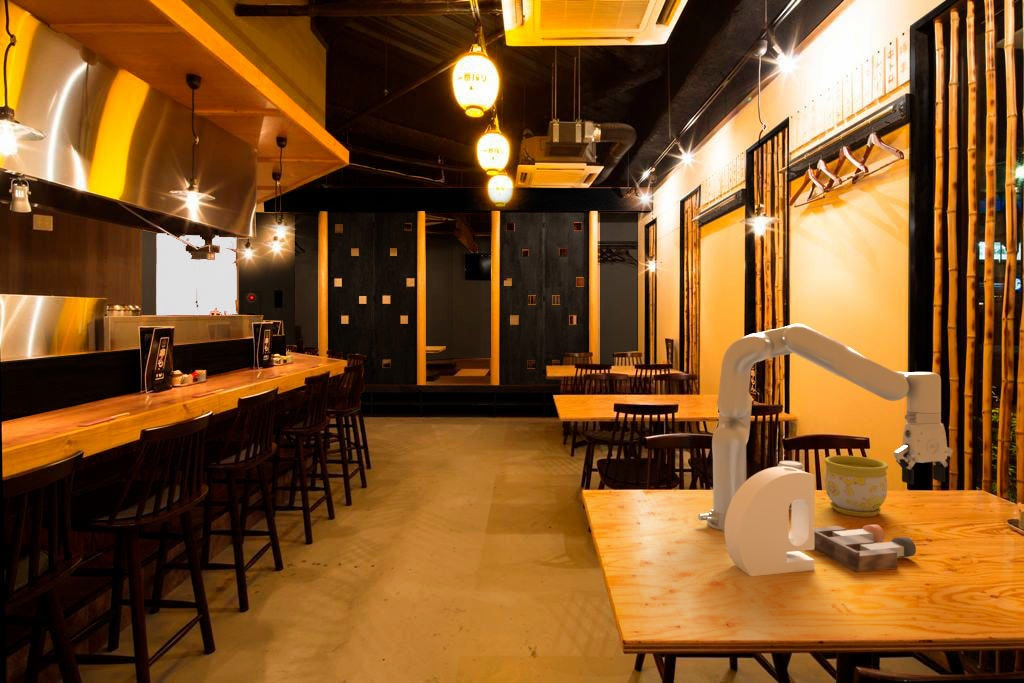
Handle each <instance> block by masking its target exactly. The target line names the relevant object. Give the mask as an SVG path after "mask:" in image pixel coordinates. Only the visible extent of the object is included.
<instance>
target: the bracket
mask: <svg viewBox="0 0 1024 683" xmlns="http://www.w3.org/2000/svg"><path fill="white" fill-rule="evenodd" d="M815 477H816V476H815V474H814V473H813V474H812V473H809V472H806V471H805V470H804V471H802V470H799V469H796V468H792V467H784V466H781V467H777V466H773V467H772V466H771V467H768V468H765V469H763V470H762V469H761V470H760V471H758V472H756V473H755V474H753V475H751V476H750V477H749V478H747V479H746V481H745V482H744V483H743V484H742V485H741V487H740V488H739V489H738V490H737V492H736V493H735V495H734V497H733V498H732V500H731V502H730V505H729V507H728V510H727V514H726V518H725V526H724V531H723V533H724V534H723V535H724V541H725V546H726V550H727V551H728V554H729V557H730V559H731V560H732V563H733V564H734V565H735V567H737V568H739V570H741V571H742V572H744V573H746V574H747V575H749V576H750V577H758V576H766V575H767V576H768V575H777V574H785V573H786V574H788V573H796V572H806V571H807V572H809V571H815V559H814V558H812V557H810V556H809V555H807V554H806V553H804V552H802V551H813V550H814V528H815V516H816V515H815V514H816V513H815V512H816V511H815V509H816V508H815V502H816V501H815V500H816V498H815V493H816V492H815V488H816V487H815V484H816V483H815V479H816V478H815ZM790 504H791V510H789V506H790ZM790 511H791V514H789V512H790ZM790 515H791V517H790V518H791V526H790V523H789V520H790V518H789V516H790ZM789 526H790V527H789ZM789 528H790V530H789ZM814 551H815V550H814Z"/></svg>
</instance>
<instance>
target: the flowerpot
mask: <svg viewBox="0 0 1024 683" xmlns="http://www.w3.org/2000/svg"><path fill="white" fill-rule="evenodd" d="M824 463H825V464H826V466H825V475H824V488H825V492H826V495H827V496H828V498H829V500H830V501H831V502H830V506H831V507H832V508H833V509H834V510H835V511H836V512H839V513H840V514H844V515H847V516H853V517H859V518H860V517H861V518H862V517H863V518H864V517H865V518H867V517H869V518H870V517H875V516H877V515H878V514H879V513H880V512H881V511H882V510H881V508H880V507H881V506H882V505H883V504H884V502H885V501H886V498H887V495H888V480H887V469H889V464H887V463H886V462H885V461H883V460H879V459H876V458H870V457H864V456H859V455H858V456H857V455H830V456H827V457H825V458H824Z"/></svg>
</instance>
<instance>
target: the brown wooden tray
mask: <svg viewBox="0 0 1024 683" xmlns="http://www.w3.org/2000/svg"><path fill="white" fill-rule="evenodd" d="M845 530H847V528H844V527H842V526H840V525H832V526H820V527H819V526H818V527H814V551H815V552H818V553H819V554H821V555H823V556H825V557H826V558H829V559H830V560H832V561H834V562H836V563H838V564H840V565H841V566H843V567H845V568H847V569H849V570H851V571H853V572H854V573H863V572H873V571H879V570H880V571H883V570H891V569H897V568H898V557H897V552H895V551H893V550H891V549H889V548H886V549H876V550H865V551H860V545H863V544H874V542H873V541H871V540H869V539H867V538H864V537H862V536H860V535H848V536H837V537H832V532H833V531H845Z"/></svg>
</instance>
